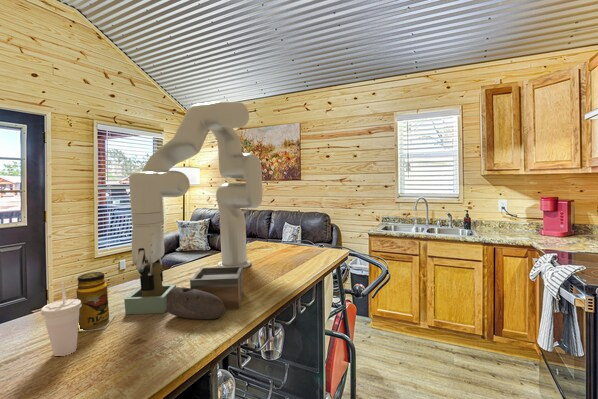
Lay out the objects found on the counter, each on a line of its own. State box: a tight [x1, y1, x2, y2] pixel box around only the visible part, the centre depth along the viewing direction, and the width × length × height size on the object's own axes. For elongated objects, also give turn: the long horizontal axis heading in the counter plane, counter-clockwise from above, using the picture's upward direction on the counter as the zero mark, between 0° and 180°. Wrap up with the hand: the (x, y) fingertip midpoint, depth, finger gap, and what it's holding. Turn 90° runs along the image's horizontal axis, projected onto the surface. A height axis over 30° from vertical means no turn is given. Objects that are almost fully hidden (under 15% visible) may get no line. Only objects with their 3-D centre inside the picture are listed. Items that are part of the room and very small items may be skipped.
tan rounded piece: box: [142, 262, 164, 297], centre depth 85 cm, size 6×6×11 cm
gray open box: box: [189, 266, 245, 311], centre depth 87 cm, size 11×12×8 cm
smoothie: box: [40, 281, 81, 357], centre depth 63 cm, size 6×6×14 cm
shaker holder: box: [124, 284, 177, 315], centre depth 85 cm, size 10×10×4 cm
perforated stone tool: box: [166, 286, 226, 320], centre depth 77 cm, size 15×5×7 cm, turn 73°
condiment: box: [76, 271, 116, 333], centre depth 75 cm, size 7×8×12 cm
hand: (152, 285), depth 85 cm, fingers closed on tan rounded piece, 5 cm apart
